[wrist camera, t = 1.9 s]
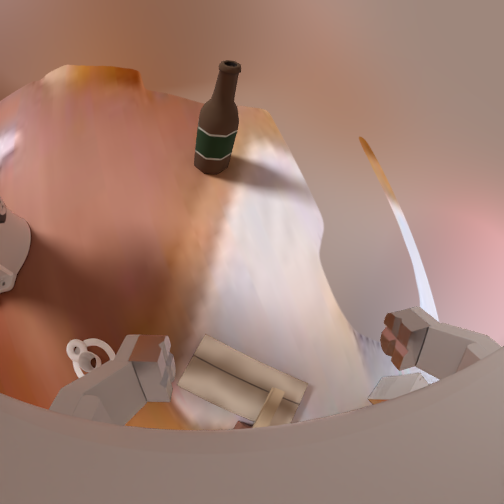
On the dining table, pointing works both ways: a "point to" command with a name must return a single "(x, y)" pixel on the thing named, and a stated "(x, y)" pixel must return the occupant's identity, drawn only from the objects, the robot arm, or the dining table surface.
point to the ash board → (239, 382)
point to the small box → (396, 387)
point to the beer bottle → (218, 122)
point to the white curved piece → (86, 354)
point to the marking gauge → (265, 410)
